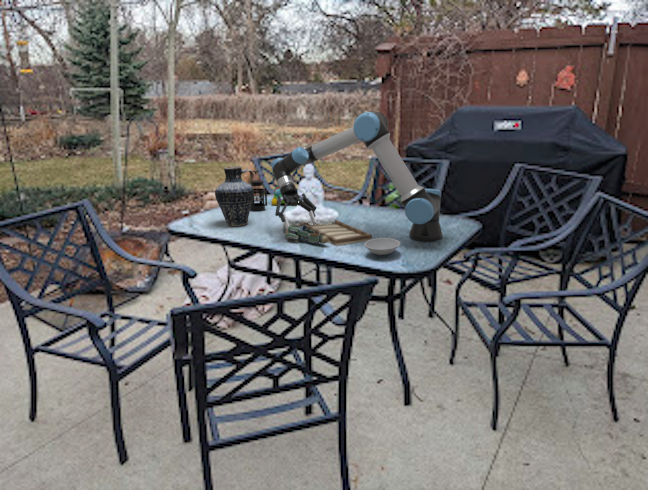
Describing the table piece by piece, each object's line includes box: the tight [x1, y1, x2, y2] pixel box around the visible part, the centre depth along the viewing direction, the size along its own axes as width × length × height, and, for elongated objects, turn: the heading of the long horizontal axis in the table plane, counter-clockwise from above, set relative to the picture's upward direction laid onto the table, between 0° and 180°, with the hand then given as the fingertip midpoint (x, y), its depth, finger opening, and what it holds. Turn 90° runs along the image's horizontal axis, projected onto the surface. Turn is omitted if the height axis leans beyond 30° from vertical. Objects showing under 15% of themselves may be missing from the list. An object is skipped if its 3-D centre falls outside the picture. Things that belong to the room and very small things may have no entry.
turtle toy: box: [271, 186, 298, 207], centre depth 310 cm, size 17×23×12 cm
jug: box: [214, 165, 255, 227], centre depth 255 cm, size 21×19×30 cm
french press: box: [247, 170, 268, 213], centre depth 289 cm, size 12×9×23 cm
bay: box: [299, 219, 373, 247], centre depth 241 cm, size 37×19×2 cm, turn 28°
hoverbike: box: [284, 225, 329, 246], centre depth 226 cm, size 10×25×8 cm, turn 53°
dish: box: [363, 237, 401, 256], centre depth 208 cm, size 18×14×5 cm
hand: (301, 225), depth 226 cm, fingers open, 13 cm apart
